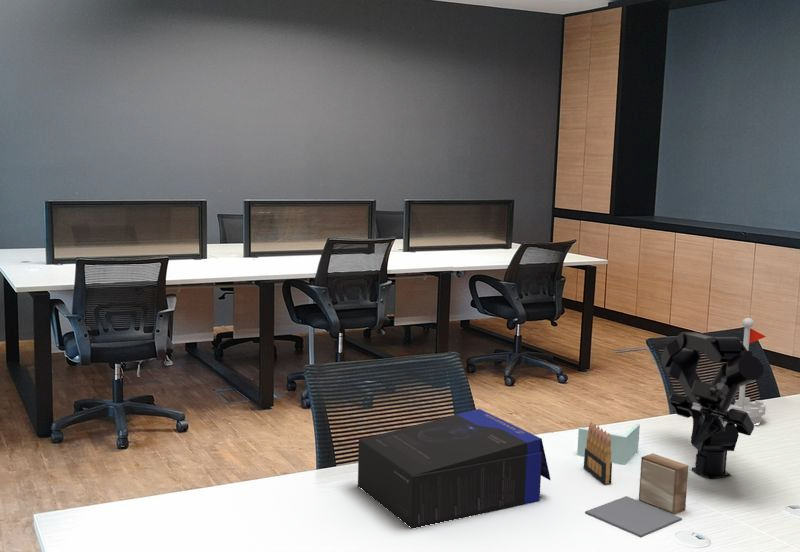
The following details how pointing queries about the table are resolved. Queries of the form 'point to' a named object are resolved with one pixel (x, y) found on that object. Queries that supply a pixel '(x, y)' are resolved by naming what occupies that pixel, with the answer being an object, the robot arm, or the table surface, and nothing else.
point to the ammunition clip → (598, 454)
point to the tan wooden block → (663, 483)
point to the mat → (633, 516)
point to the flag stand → (744, 402)
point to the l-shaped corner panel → (615, 444)
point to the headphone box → (452, 468)
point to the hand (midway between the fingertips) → (693, 444)
